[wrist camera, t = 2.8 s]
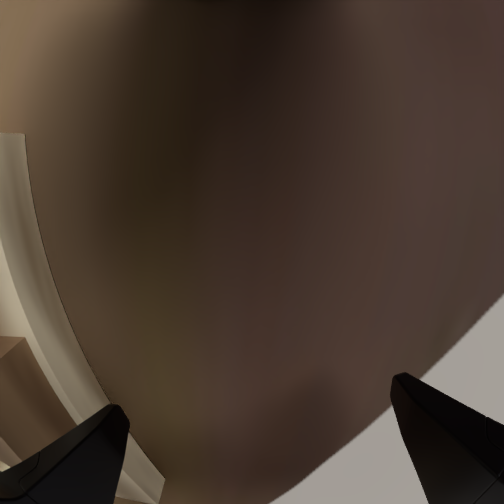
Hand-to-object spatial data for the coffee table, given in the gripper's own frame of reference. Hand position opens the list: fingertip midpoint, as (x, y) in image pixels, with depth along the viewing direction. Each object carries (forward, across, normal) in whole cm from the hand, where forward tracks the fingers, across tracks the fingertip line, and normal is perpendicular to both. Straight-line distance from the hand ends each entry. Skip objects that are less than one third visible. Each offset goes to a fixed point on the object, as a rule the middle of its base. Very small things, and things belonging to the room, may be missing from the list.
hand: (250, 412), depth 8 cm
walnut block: (+1, +12, 0) cm, 12 cm away
